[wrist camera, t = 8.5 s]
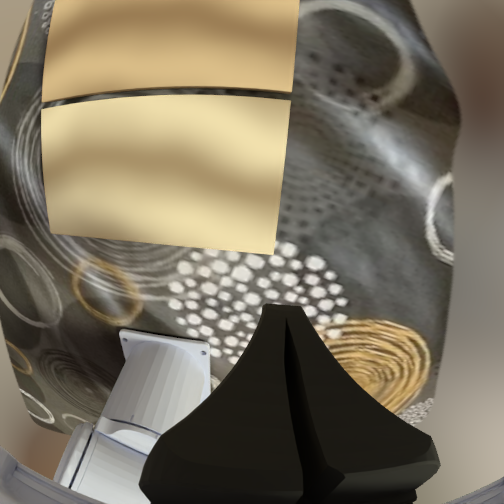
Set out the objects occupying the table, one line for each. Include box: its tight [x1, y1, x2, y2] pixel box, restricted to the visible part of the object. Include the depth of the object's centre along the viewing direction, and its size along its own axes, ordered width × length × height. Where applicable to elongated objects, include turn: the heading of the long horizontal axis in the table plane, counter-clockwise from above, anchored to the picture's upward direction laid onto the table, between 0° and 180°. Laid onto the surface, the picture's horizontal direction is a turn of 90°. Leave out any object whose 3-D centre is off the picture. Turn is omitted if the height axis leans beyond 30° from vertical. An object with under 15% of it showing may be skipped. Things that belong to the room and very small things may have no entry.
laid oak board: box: [42, 0, 299, 102], centre depth 13 cm, size 8×16×2 cm, turn 85°
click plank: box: [41, 95, 291, 255], centre depth 17 cm, size 9×16×2 cm, turn 85°
